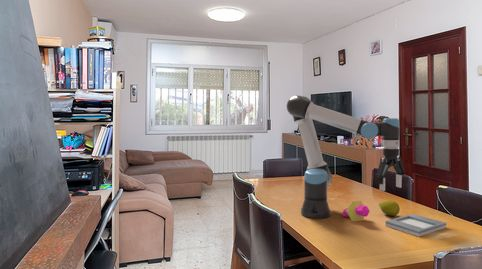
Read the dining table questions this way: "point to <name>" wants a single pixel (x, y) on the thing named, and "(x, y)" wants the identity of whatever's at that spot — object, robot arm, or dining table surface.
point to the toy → (356, 211)
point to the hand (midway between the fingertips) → (390, 188)
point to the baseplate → (415, 224)
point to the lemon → (389, 207)
